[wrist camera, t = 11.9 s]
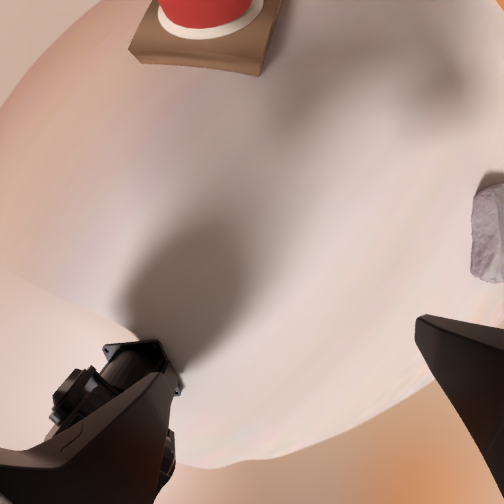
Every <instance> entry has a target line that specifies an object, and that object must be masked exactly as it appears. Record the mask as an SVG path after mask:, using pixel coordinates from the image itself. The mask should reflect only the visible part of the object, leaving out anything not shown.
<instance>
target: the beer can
mask: <svg viewBox="0 0 504 504" xmlns="http://www.w3.org/2000/svg"><path fill="white" fill-rule="evenodd" d="M157 1H158V2H159V4H160V6H161V8H162V10H163V12H164V13H165V15H166V17H167V18H168V19H169V20H170V21H171V22H173V23H174V24H176V25H179V26H182V27H185V28H191V29H205V28H214V27H217V26H220V25H224V24H227V23H229V22H231V21H233V20H235V19H237V18H238V17H240V16H241V15H242V14H243V13H244V12H245V11H246V10H247V9H248V8H249V7H250V5H251V2H252V0H157Z"/></svg>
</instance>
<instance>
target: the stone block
mask: <svg viewBox="0 0 504 504" xmlns="http://www.w3.org/2000/svg"><path fill="white" fill-rule="evenodd" d="M471 226H472V239H473V242H472V251H471V259H472V263H471V273H472V275H474V276H475V277H478V278H479V279H481V280H484V281H486V282H490V283H493V284H494V283H502V282H504V183H501V184H495V185H491V186H489V187H488V188H486V189H484V190H482V191H480V192H478V194H477V195H476V196H475V197H474V200H473V210H472V216H471Z"/></svg>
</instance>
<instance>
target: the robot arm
mask: <svg viewBox="0 0 504 504" xmlns="http://www.w3.org/2000/svg"><path fill="white" fill-rule="evenodd" d="M415 342H416V345H417V346H418V348H419V350H420V352H421V354H422V356H423V357H424V359H425V361H426V363H427V365H428V367H429V369H430V371H431V372H432V374H433V376H434V377H435V379H436V380H437V381H438V383H439V384H440V386H441V388H442V389H443V391H444V392H445V394H446V395H447V397H448V398H449V400H450V401H451V403H452V405H453V406H454V408H455V409H456V411H457V413H458V414H459V416H460V417H461V419H462V421H463V422H464V424H465V426H466V427H467V429H468V431H469V432H470V434H471V436H472V438H473V439H474V441H475V443H476V445H477V446H478V448H479V450H480V452H481V454H482V456H484V459H485V461H486V463H487V465H488V467H489V469H490V471H491V473H492V475H493V477H494V479H495V481H496V483H497V485H498V488H499V490H500V492H501V494H502V496H503V498H504V329H500V328H495V327H489V326H484V325H479V324H473V323H468V322H463V321H458V320H453V319H448V318H443V317H438V316H433V315H428V314H425V315H423V316H420V317H418V318H417V319H416V323H415ZM154 344H156V345H157V347H156V346H154ZM107 349H108V350H109V351H108V350H107ZM102 350H103V352H104V354H105V356H106V358H107V361H108V363H107V364H106V365H105V367H104V368H103V369H102V371H101V372H100V373H98V372H97V371H96V369H95V368H94V367H93V366H92V365H91V366H90V367H89V368H88V369H87V370H86V369H84V370H79V369H75V370H74V371H73V372H72V373H71V374H70V376H69V377H68V378H67V379H66V380H65V381H64V382H63V384H62V385H61V386H60V387H59V388H58V389H57V391H56V392H55V393H54V394H53V403H54V406H53V408H52V410H53V411H52V413H51V415H50V416H49V419H51V420H52V421H53V422H54V423H55V425H54V426H53V427H52V429H51V430H50V432H49V433H48V434H47V436H46V437H45V440H44V442H43V443H41V444H39V445H37V446H35V447H33V448H30V449H28V450H23V451H14V450H8V449H3V448H0V504H153V503H154V500H155V498H156V496H157V495H158V493H159V492H160V490H161V489H162V487H163V486H164V485H165V484H166V483H167V482H168V481H169V479H170V478H171V476H172V474H173V472H174V469H175V464H176V460H175V439H174V432H173V431H171V430H170V429H168V427H169V417H170V407H171V402H172V400H173V397H174V396H180V395H181V392H182V390H181V388H180V386H179V384H178V383H179V380H178V378H177V376H176V374H175V371H174V369H173V367H172V364H171V362H170V361H169V360H168V359H167V357H166V354H165V352H164V349H163V347H162V345H161V343H160V341H158V340H155V339H154V340H145V341H136V342H127V343H115V344H106V345H104V346H103V349H102ZM176 391H178V392H176Z"/></svg>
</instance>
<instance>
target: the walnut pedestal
mask: <svg viewBox="0 0 504 504" xmlns="http://www.w3.org/2000/svg"><path fill="white" fill-rule="evenodd" d="M282 1H283V0H252V2H251V5H250V7H249V8H248V9H247V10H246V11H245V12H244V13H243V14H242V15H241V16H240V17H238V18H237V19H235V20H233V21H231V22H229V23H227V24H224V25H220V26H217V27H214V28H205V29H191V28H185V27H182V26H179V25H176V24H174V23H173V22H171V21H170V20H169V19H168V18H167V17H166V15H165V13H164V12H163V10H162V8H161V6H160V4H159V2H158V1H157V0H152V2H151V4H150V6H149V7H148V9H147V11H146V13H145V15H144V17H143V19H142V21H141V23H140V25H139V27H138V29H137V31H136V33H135V35H134V37H133V39H132V41H131V44H130V46H129V48H128V50H129V51H130V52H131V53H132V54H133V55H134V56H135V57H136V58H137V59H138V61H139V62H140V63H141V64H165V65H181V66H192V67H202V68H210V69H218V70H224V71H231V72H237V73H243V74H248V75H253V76H258V77H259V75H260V72H261V68H262V65H263V62H264V58H265V55H266V51H267V48H268V45H269V42H270V38H271V35H272V32H273V29H274V26H275V22H276V19H277V16H278V13H279V10H280V7H281V4H282Z"/></svg>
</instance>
